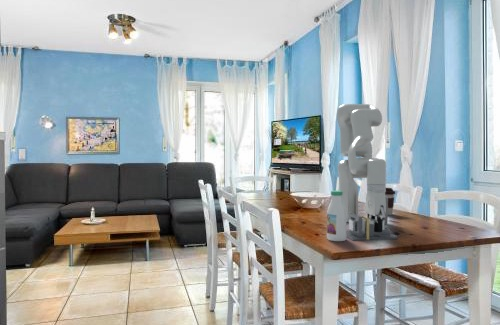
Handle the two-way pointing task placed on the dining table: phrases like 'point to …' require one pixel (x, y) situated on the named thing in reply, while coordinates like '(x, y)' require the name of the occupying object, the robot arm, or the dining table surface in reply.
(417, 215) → the dining table surface
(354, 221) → the white post with dot
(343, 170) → the robot arm
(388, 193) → the coffee cup
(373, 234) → the collar rail
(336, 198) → the milk bottle
